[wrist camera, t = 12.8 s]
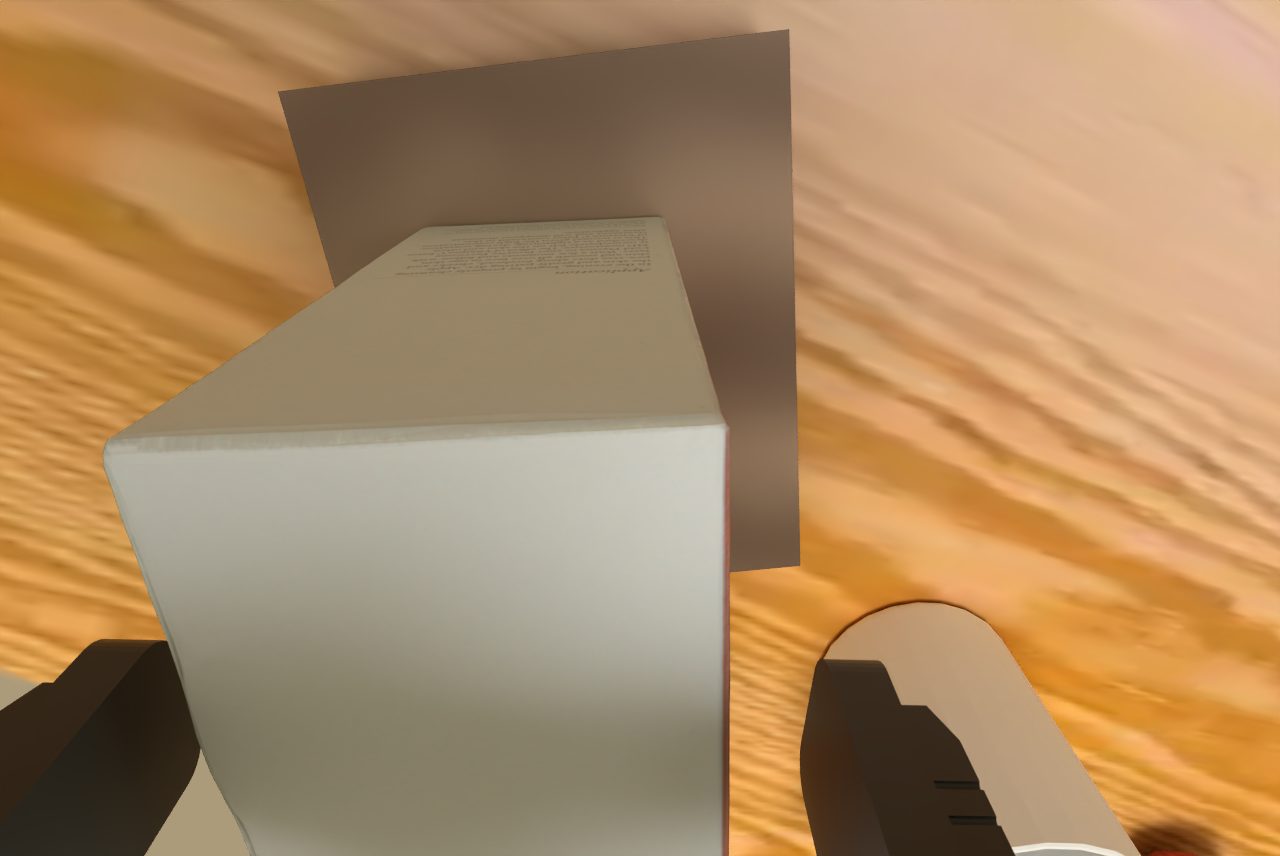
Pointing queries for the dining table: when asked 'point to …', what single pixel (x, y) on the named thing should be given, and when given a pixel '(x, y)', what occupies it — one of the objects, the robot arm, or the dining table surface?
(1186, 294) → the dining table surface
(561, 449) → the small box
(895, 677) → the mug
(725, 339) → the walnut block
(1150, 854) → the onion
